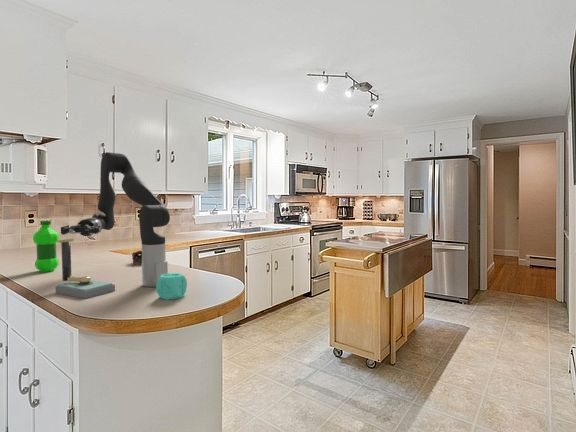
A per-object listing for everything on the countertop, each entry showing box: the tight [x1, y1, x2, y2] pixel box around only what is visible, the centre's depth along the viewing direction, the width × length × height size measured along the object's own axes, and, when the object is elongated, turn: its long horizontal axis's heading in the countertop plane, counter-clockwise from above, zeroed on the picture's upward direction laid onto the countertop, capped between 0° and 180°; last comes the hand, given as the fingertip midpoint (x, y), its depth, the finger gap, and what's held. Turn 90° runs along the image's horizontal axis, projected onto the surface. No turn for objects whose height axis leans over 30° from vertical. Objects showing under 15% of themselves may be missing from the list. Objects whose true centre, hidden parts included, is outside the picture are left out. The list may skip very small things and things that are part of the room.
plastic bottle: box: [32, 220, 60, 273], centre depth 172 cm, size 10×10×25 cm
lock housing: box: [55, 279, 116, 299], centre depth 133 cm, size 18×12×3 cm, turn 63°
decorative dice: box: [155, 272, 188, 301], centre depth 127 cm, size 8×8×8 cm
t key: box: [57, 238, 92, 284], centre depth 134 cm, size 12×6×16 cm, turn 74°
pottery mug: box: [131, 250, 142, 266], centre depth 191 cm, size 12×10×8 cm
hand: (73, 232), depth 141 cm, fingers open, 8 cm apart
